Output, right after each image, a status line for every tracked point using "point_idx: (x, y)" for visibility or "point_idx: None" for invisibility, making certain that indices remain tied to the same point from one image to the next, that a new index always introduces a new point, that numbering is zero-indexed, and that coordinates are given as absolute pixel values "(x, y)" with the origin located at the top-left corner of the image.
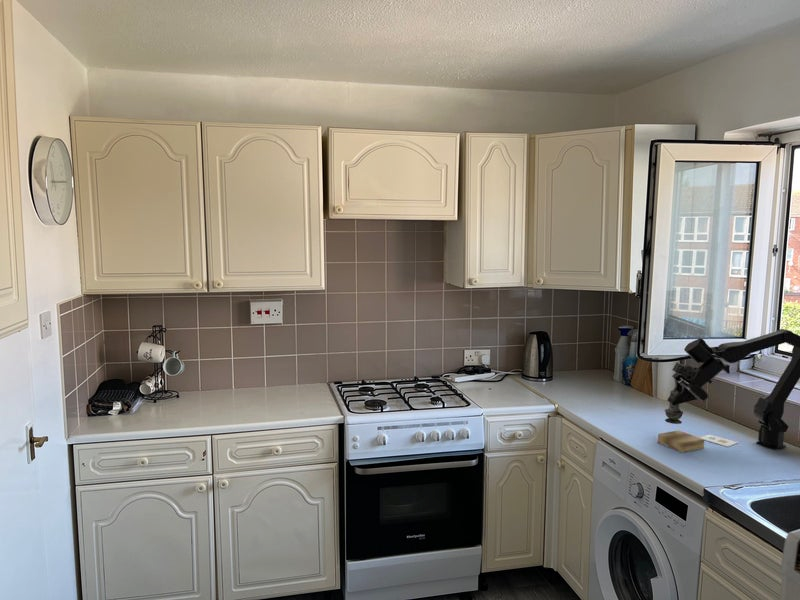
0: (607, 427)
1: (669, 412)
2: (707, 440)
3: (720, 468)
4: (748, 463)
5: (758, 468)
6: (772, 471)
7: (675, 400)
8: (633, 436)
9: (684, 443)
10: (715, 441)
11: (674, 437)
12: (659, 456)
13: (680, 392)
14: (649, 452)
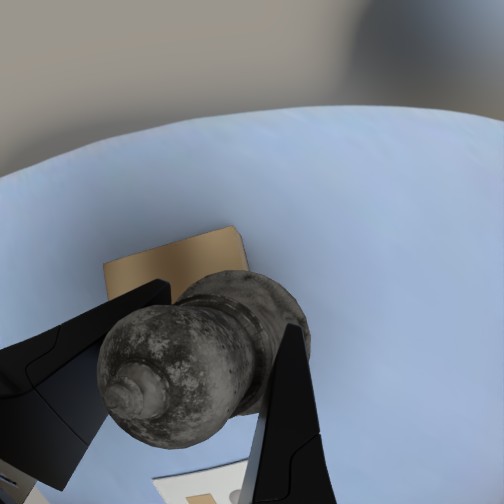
0: (439, 136)
1: (207, 281)
2: (221, 467)
3: (19, 294)
4: None
5: None
6: None
7: (115, 303)
8: (330, 173)
9: (104, 271)
10: (205, 484)
11: (170, 276)
12: (116, 162)
13: (39, 373)
14: (152, 145)
